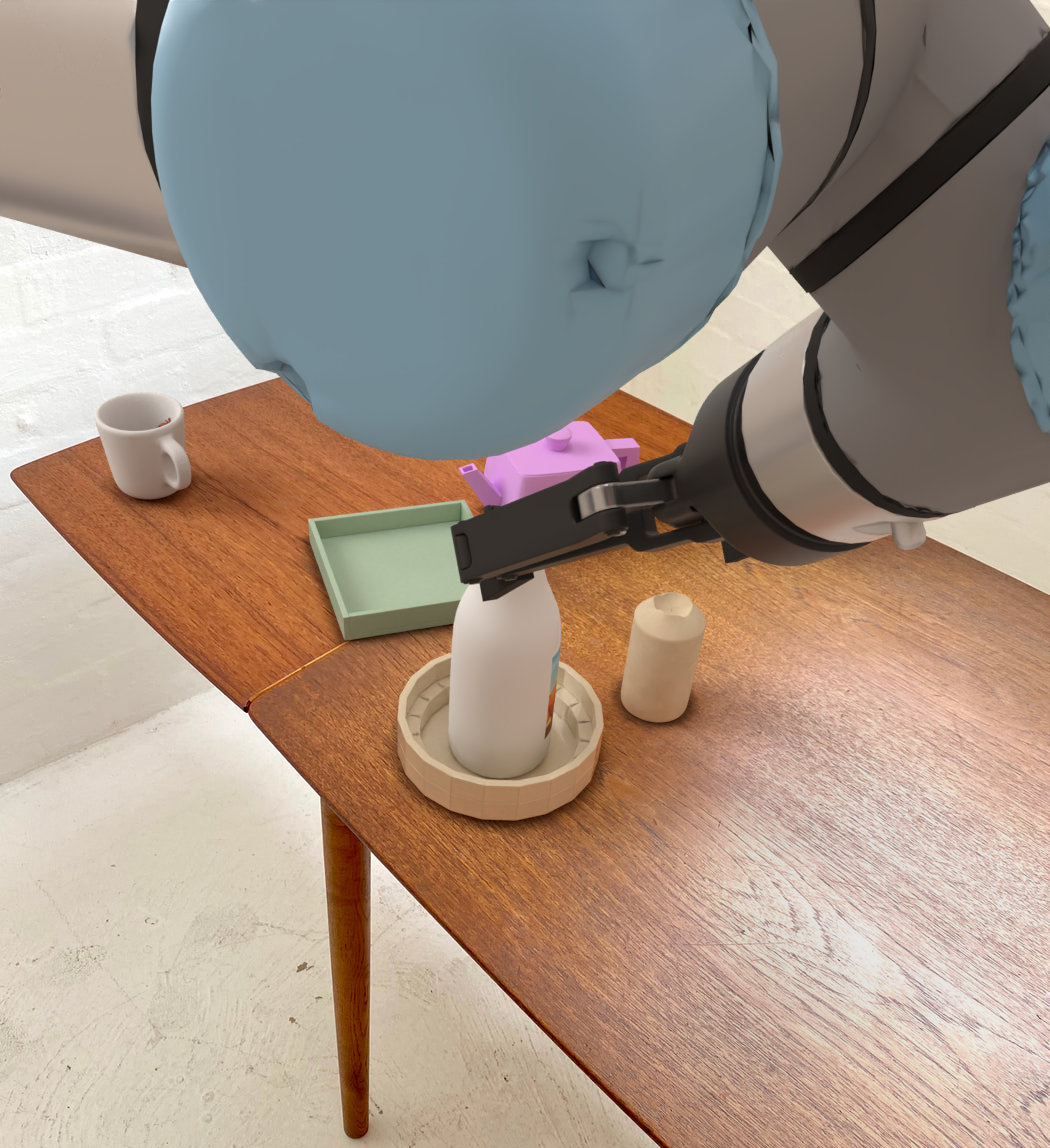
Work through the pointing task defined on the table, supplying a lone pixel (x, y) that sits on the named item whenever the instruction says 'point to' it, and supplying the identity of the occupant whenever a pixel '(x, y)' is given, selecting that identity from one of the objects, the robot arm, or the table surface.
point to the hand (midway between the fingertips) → (609, 555)
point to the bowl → (497, 797)
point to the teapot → (547, 463)
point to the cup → (145, 443)
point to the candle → (662, 657)
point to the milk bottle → (504, 678)
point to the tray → (390, 567)
